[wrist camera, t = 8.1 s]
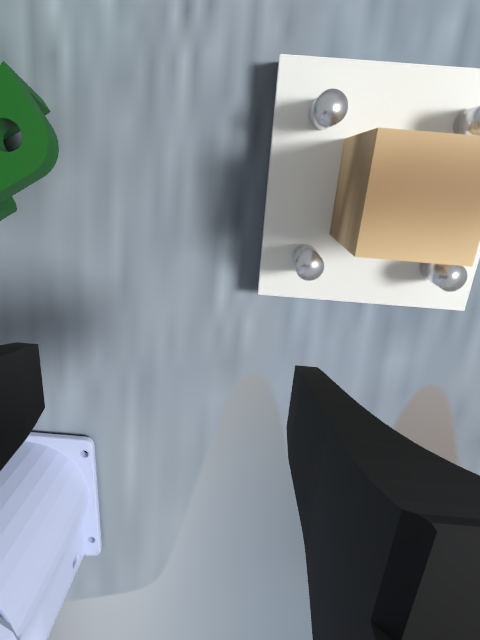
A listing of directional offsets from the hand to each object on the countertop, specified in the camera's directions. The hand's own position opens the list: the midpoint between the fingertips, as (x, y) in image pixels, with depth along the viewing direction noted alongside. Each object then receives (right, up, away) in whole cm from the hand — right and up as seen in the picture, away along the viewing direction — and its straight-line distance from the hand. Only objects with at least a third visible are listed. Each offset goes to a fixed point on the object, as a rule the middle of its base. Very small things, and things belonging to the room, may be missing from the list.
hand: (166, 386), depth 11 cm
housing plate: (+8, +8, +8) cm, 14 cm away
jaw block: (+8, +7, +6) cm, 13 cm away
